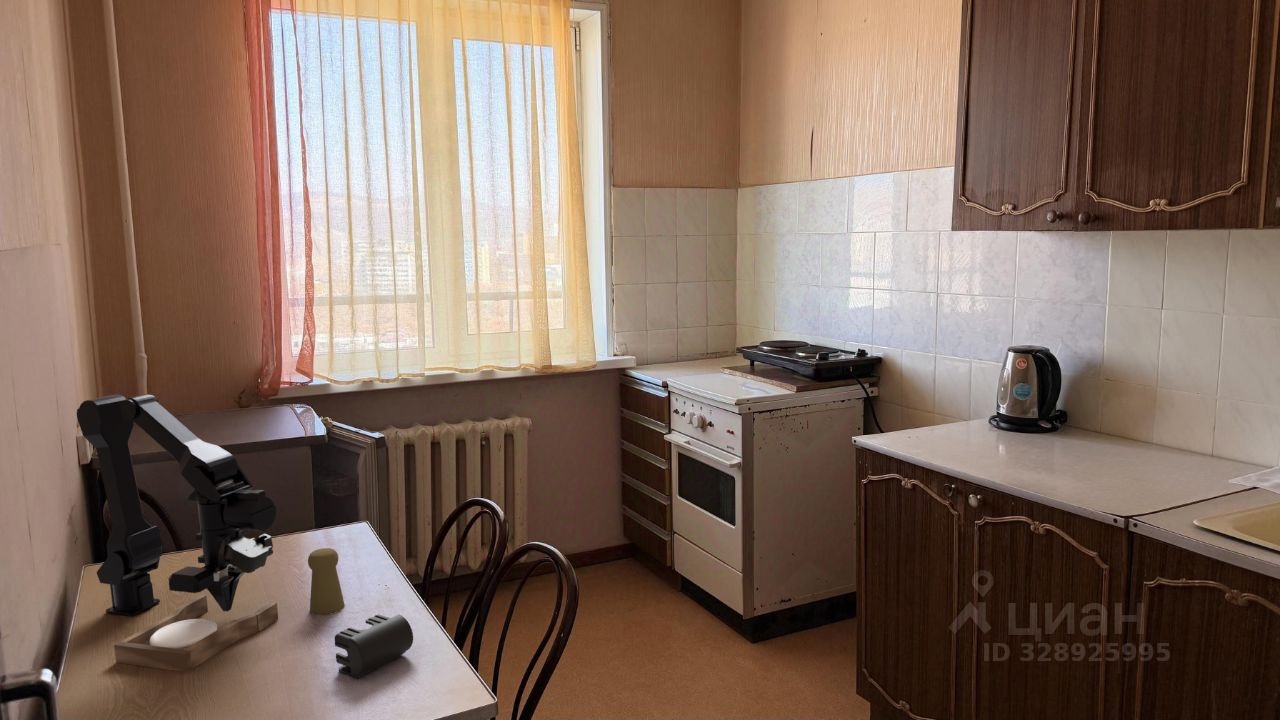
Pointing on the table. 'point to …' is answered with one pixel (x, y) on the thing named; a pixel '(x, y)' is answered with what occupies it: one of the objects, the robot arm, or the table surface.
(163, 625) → the wooden u-shaped frame
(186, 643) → the coaster
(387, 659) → the end cap
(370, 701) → the table surface
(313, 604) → the cork
